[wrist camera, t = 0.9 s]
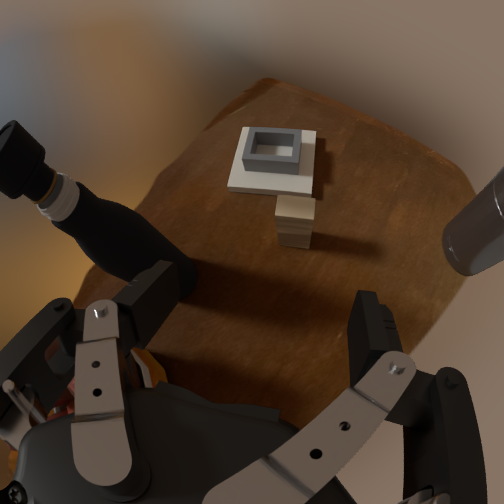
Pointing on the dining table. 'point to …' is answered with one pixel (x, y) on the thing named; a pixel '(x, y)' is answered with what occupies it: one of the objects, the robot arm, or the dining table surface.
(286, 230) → the slat
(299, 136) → the socket base
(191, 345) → the dining table surface
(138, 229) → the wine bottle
